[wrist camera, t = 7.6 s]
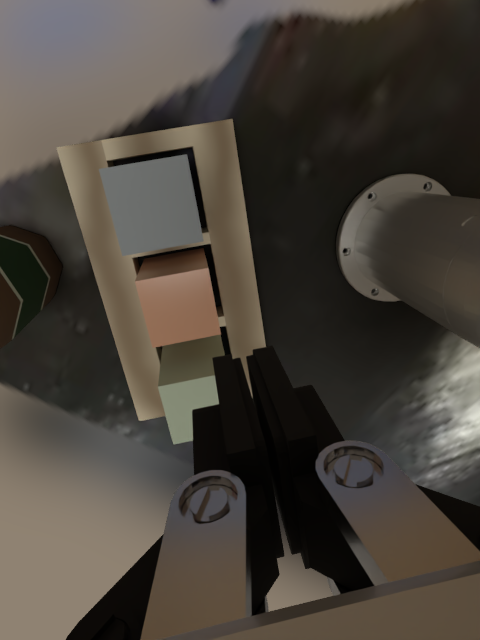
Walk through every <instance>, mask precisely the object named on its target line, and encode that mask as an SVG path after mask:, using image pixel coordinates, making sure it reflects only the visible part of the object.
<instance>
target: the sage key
mask: <svg viewBox="0 0 480 640" xmlns="http://www.w3.org/2000/svg"><path fill="white" fill-rule="evenodd" d="M223 355H225V353H224V349H223V344H222V340H221V335H215V336H210V337H205V338H200V339H195V340H190V341H185V342H180V343H175V344H170V345H165V346H163V347H162V355H161V364H160V372H159V381H158V389H159V393H160V397H161V400H162V404H163V408H164V411H165V415H166V419H167V422H168V426H169V430H170V433H171V437H172V441H173V444H178V443H183V442H187V441H192V440H193V425H192V410H193V409H198V408H203V407H207V406H212V405H217V404H219V400H218V393H217V386H216V380H215V373H214V366H213V360H212V358H213V357H218V356H223Z"/></svg>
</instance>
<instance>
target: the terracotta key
mask: <svg viewBox="0 0 480 640" xmlns="http://www.w3.org/2000/svg"><path fill="white" fill-rule="evenodd" d="M135 284H136V288H137V292H138V296H139V299H140V303H141V307H142V311H143V314H144V318H145V322H146V326H147V329H148V333H149V337H150V341H151V344H152V348H155V347H160V346H165V345H170V344H175V343H180V342H185V341H190V340H195V339H200V338H205V337H210V336H215V335H220V334H221V331H220V326H219V321H218V316H217V310H216V305H215V300H214V295H213V289H212V284H211V279H210V274H209V269H208V264H207V260H206V256H205V252H204V248H200V249H194V250H189V251H183V252H178V253H172V254H167V255H162V256H156V257H151V258H145V259H144V261H143V263H142V266H141V268H140V270H139V273H138V275H137V277H136V280H135Z"/></svg>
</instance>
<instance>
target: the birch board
mask: <svg viewBox="0 0 480 640" xmlns="http://www.w3.org/2000/svg"><path fill="white" fill-rule="evenodd" d="M188 148H192V149H193V154H194V160H195V165H196V171H197V176H198V181H199V187H200V192H201V198H202V203H203V208H204V214H205V219H206V224H207V228H201V230H202V235H203V240H204V241H203V242H197V243H192V244H187V245H181V246H176V247H170V248H165V249H159V250H154V251H148V252H143V253H137V254H132V255H126V256H122V253H121V249H120V246H119V242H118V238H117V235H116V231H115V227H114V224H113V220H112V216H111V213H110V209H109V205H108V202H107V198H106V194H105V190H104V187H103V183H102V179H101V176H100V172H99V169H102V168H108V167H114V164H113V161H115V160H121V159H127V158H133V157H139V156H145V155H151V154H157V153H163V152H169V151H176V150H182V149H188ZM56 149H57V152H58V155H59V158H60V162H61V165H62V168H63V172H64V175H65V178H66V182H67V185H68V188H69V191H70V195H71V198H72V201H73V205H74V208H75V211H76V215H77V218H78V221H79V224H80V228H81V231H82V234H83V238H84V241H85V244H86V247H87V251H88V254H89V257H90V261H91V264H92V267H93V271H94V274H95V277H96V280H97V284H98V287H99V290H100V294H101V297H102V300H103V303H104V307H105V310H106V313H107V317H108V320H109V323H110V327H111V330H112V333H113V336H114V340H115V343H116V346H117V350H118V353H119V356H120V360H121V363H122V366H123V369H124V373H125V376H126V379H127V383H128V386H129V389H130V392H131V396H132V399H133V402H134V406H135V409H136V412H137V416H138V419H139V421H143V420H148V419H152V418H157V417H162V416H166V415H165V411H164V408H163V404H162V400H161V397H160V393H159V389H158V381H159V372H160V364H161V355H162V351H161V347H155V348H152V344H151V341H150V337H149V333H148V329H147V326H146V322H145V318H144V314H143V311H142V307H141V303H140V299H139V296H138V292H137V288H136V284H135V280H136V277H137V275H138V273H139V270H140V265H139V261H138V257H140V256H146V255H151V254H156V253H162V252H167V251H173V250H178V249H184V248H189V247H195V246H200V245H206V244H210V246H211V251H212V257H213V262H214V268H215V273H216V278H217V284H218V289H219V295H220V300H221V305H222V306H219V307H216V310H217V316H218V321H219V326H220V327H222V326H225V327H226V332H227V338H228V343H229V349H230V354H232V358H233V359H235V358H241V362H242V365H243V369H244V372H245V375H246V379H247V382H248V385H249V389H250V392H251V396H252V398H253V395H252V390H251V384H250V378H249V372H248V366H247V360H246V356H249V355H253V349H258V348H263V347H266V344H265V337H264V331H263V324H262V317H261V310H260V303H259V297H258V290H257V283H256V276H255V269H254V263H253V256H252V249H251V242H250V235H249V228H248V222H247V215H246V208H245V201H244V194H243V188H242V181H241V174H240V167H239V160H238V154H237V147H236V140H235V133H234V126H233V120H232V119H228V120H222V121H216V122H210V123H204V124H198V125H192V126H185V127H179V128H173V129H167V130H161V131H155V132H149V133H142V134H136V135H130V136H124V137H118V138H112V139H106V140H99V141H93V142H87V143H81V144H75V145H69V146H63V147H57V148H56Z"/></svg>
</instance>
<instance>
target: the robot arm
mask: <svg viewBox="0 0 480 640" xmlns="http://www.w3.org/2000/svg"><path fill="white" fill-rule="evenodd" d="M424 185H425V187H424ZM423 187H424V188H423ZM369 194H370V198H369V199H368V195H369ZM344 248H346V251H345V252H343V249H344ZM336 256H337V261H338V265H339V268H340V270H341V272H342V275H343V276H344V278H345V279H346V280H347V282H348V283H349V284H350V285H351V286H352V287H353V288H354V289H355V290H357V291H358V292H360V293H361V294H363V295H364V296H366V297H368V298H371V299H373V300H378V301H384V302H395V301H400V300H402V301H403V302H405V303H406V304H408V305H410V306H411V307H413V308H415V309H416V310H418V311H419V312H421V313H423V314H424V315H426V316H427V317H429V318H431V319H432V320H434V321H436V322H437V323H439V324H440V325H442V326H444V327H445V328H447V329H449V330H450V331H452V332H453V333H455V334H457V335H458V336H460V337H461V338H463V339H465V340H467V341H468V342H470V343H472V344H473V345H475V346H477V347H479V348H480V199H476V198H467V197H458V196H451V195H450V193H449V192H448V191H447V190H446V189H445V188H444V187H443V186H442V185H441V184H439V183H438V182H437V181H435V180H434V179H431V178H429V177H426V176H424V175H417V174H397V175H391V176H388V177H385V178H382V179H380V180H377V181H376V182H374V183H373V184H371V185H369V186H368V187H366V188H365V189H364V190H363V191H362V192H361V193H360V194H358V195H357V196H356V198H355V199H354V200H353V201H352V203H351V204H350V205H349V206H348V208H347V210H346V212H345V214H344V215H343V217H342V220H341V222H340V225H339V228H338V232H337V238H336ZM372 289H373V291H372ZM371 291H372V292H371ZM212 360H213V366H214V373H215V380H216V386H217V393H218V400H219V404H217V405H212V406H207V407H203V408H198V409H193V410H192V425H193V453H194V476H193V477H190V478H189V479H188V480H186V481H185V482H184V483H182V484H181V485H180V486H179V488H178V489H177V490H176V491H175V493H174V496H173V498H172V500H171V503H170V508H169V513H168V517H167V521H166V526H165V530H164V534H163V535H162V536H161V537H160V538H159V539H158V540H157V541H156V543H155V544H154V545H153V546H152V547H151V548H150V549H149V550H148V551H147V552H146V553H145V554H144V555H143V556H142V557H141V558H140V559H139V560H138V561H137V562H136V563H135V564H134V566H133V567H132V568H130V570H129V571H128V572H127V573H126V574H125V575H124V576H123V577H122V578H121V579H120V580H119V581H118V582H117V583H116V584H115V585H114V586H113V587H112V588H111V589H110V590H109V591H108V592H107V594H106V595H104V597H103V598H102V599H101V600H100V601H99V602H98V603H97V604H96V605H95V606H94V607H93V608H92V609H91V610H90V611H89V612H88V613H87V614H86V615H85V616H84V617H83V618H82V620H80V621H79V622H78V624H77V625H76V626H75V628H74V629H73V630H72V631H71V633H70V634H69V635H68V636H67V638H66V640H480V507H479V506H476V505H473V504H470V503H468V502H465V501H462V500H459V499H456V498H453V497H450V496H447V495H445V494H442V493H439V492H436V491H433V490H430V489H427V488H424V487H422V486H419V485H416V484H414V483H413V482H412V480H411V479H410V478H409V477H408V476H407V475H406V474H405V473H404V472H403V471H402V470H401V469H400V468H399V467H398V466H397V465H396V464H395V463H394V462H393V461H392V460H391V459H390V458H389V457H388V456H387V455H386V454H385V453H384V452H383V451H381V450H380V449H379V448H378V447H375V446H373V445H371V444H368V443H365V442H360V441H345V440H344V439H343V437H342V435H341V434H340V432H339V430H338V428H337V427H336V425H335V423H334V422H333V420H332V418H331V416H330V415H329V413H328V411H327V410H326V408H325V406H324V405H323V403H322V401H321V399H320V398H319V396H318V394H317V393H316V391H315V389H314V388H313V386H312V385H308V386H303V387H298V388H294V389H293V387H292V385H291V383H290V381H289V379H288V377H287V375H286V373H285V371H284V369H283V367H282V365H281V362H280V360H279V358H278V356H277V354H276V352H275V350H274V348H273V346H268V347H263V348H258V349H253V355H249V356H246V360H247V366H248V372H249V378H250V384H251V390H252V395H253V399H252V396H251V392H250V389H249V385H248V382H247V379H246V375H245V372H244V369H243V365H242V362H241V358H235V359H233V358H232V354H228V355H223V356H218V357H213V358H212ZM253 401H254V402H253ZM274 493H275V495H274ZM275 497H276V500H277V504H278V507H279V511H280V514H281V518H282V521H283V525H284V529H285V532H286V536H287V540H288V543H289V546H290V550H291V553H292V554H297V553H301V556H302V559H303V563H304V566H305V569H308V568H312V569H314V570H316V571H318V572H320V573H322V574H323V575H325V576H327V579H328V583H329V586H330V589H331V592H332V594H333V596H331V597H327V598H323V599H319V600H315V601H311V602H307V603H303V604H299V605H295V606H291V607H287V608H282V609H278V610H274V611H270V612H268V603H267V598H266V595H267V593H268V592H269V590H270V588H271V587H272V585H273V584H274V582H275V581H276V579H277V578H278V576H279V569H278V564H277V558H280V557H284V550H283V544H282V539H281V532H280V526H279V520H278V513H277V507H276V501H275Z"/></svg>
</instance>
